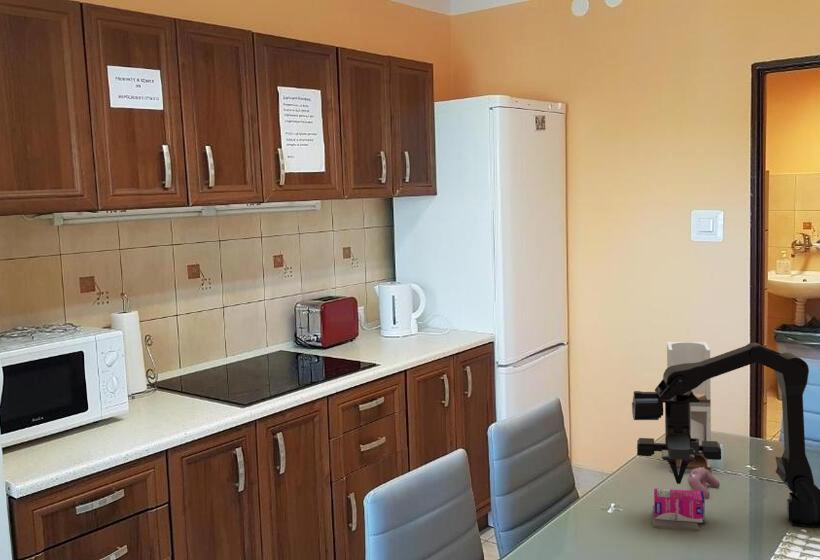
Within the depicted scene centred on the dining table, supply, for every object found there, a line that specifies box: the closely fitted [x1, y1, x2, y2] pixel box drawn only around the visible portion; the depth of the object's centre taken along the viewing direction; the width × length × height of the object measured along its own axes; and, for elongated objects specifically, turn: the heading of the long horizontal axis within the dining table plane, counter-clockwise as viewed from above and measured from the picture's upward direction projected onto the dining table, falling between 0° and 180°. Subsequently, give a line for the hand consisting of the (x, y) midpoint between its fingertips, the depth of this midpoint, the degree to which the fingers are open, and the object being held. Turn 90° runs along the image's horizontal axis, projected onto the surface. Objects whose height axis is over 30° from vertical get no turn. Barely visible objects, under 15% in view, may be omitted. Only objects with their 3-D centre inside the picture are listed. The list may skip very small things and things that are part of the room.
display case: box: [666, 341, 712, 474], centre depth 218 cm, size 11×11×35 cm
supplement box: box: [653, 488, 706, 524], centre depth 185 cm, size 6×6×12 cm
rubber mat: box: [652, 504, 699, 532], centre depth 185 cm, size 10×12×1 cm
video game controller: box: [687, 467, 721, 499], centre depth 201 cm, size 10×5×7 cm, turn 141°
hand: (678, 483), depth 184 cm, fingers closed
